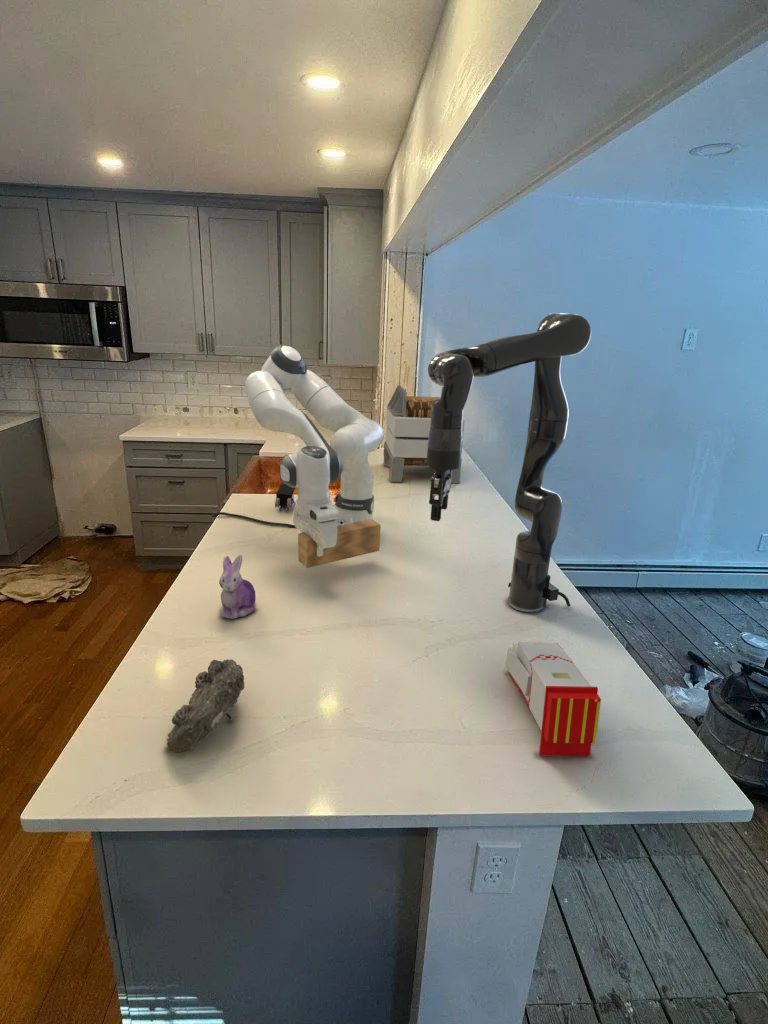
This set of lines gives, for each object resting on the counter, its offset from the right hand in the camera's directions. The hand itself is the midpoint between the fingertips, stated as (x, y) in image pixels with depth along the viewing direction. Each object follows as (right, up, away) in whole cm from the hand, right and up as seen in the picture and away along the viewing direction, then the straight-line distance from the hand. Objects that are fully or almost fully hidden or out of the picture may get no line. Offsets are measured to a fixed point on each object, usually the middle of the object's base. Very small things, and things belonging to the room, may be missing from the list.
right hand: (439, 514), depth 132 cm
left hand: (-33, -11, +30) cm, 46 cm away
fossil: (-46, -39, -24) cm, 64 cm away
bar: (-26, -12, +36) cm, 46 cm away
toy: (+19, -39, -17) cm, 47 cm away
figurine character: (-51, +2, +89) cm, 103 cm away
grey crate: (+4, +19, +143) cm, 145 cm away
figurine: (-50, -25, +14) cm, 58 cm away
